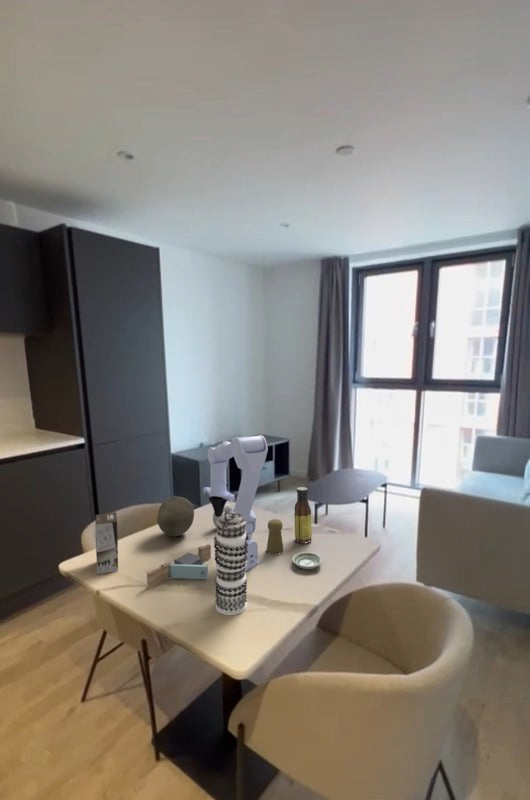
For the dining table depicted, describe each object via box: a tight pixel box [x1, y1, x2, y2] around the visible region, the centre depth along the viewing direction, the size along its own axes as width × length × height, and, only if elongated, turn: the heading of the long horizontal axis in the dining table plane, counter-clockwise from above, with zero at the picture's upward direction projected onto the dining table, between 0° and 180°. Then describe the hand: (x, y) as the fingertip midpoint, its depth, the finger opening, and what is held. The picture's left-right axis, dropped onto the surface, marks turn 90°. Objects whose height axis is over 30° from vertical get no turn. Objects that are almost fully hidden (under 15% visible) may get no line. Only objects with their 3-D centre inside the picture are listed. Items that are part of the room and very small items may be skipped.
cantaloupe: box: [156, 496, 195, 537], centre depth 146 cm, size 14×14×15 cm
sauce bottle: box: [293, 486, 313, 544], centre depth 143 cm, size 7×6×20 cm
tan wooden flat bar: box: [146, 543, 212, 590], centre depth 121 cm, size 2×24×5 cm, turn 141°
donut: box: [212, 502, 234, 528], centre depth 154 cm, size 10×4×10 cm, turn 141°
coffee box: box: [94, 511, 119, 575], centre depth 124 cm, size 9×6×16 cm
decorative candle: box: [213, 512, 249, 616], centre depth 103 cm, size 9×9×25 cm
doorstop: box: [173, 552, 203, 565], centre depth 122 cm, size 6×6×4 cm
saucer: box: [291, 551, 323, 570], centre depth 126 cm, size 10×10×2 cm
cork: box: [266, 518, 284, 555], centre depth 135 cm, size 6×6×11 cm
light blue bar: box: [167, 563, 209, 580], centre depth 117 cm, size 2×12×4 cm, turn 87°
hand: (218, 515), depth 141 cm, fingers closed
